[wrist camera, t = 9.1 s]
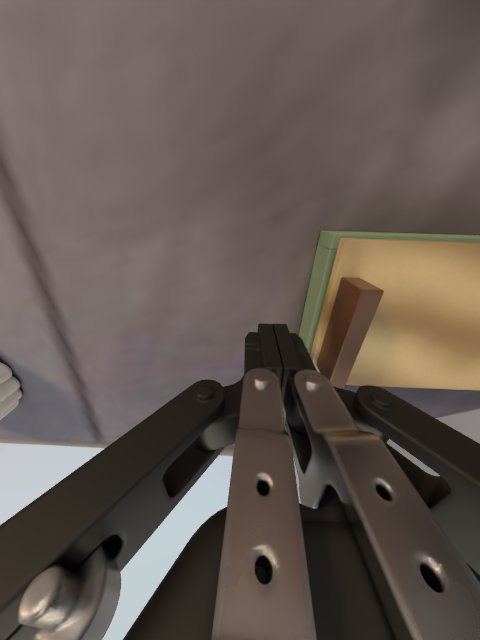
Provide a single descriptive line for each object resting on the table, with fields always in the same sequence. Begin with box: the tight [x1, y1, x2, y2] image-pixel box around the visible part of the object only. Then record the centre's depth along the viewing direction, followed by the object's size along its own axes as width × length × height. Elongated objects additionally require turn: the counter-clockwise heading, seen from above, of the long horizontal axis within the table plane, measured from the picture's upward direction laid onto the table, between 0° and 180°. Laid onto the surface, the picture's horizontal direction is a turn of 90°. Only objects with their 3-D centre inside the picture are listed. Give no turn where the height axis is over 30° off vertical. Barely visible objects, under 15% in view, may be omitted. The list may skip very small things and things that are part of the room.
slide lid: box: [310, 238, 480, 390], centre depth 10 cm, size 10×17×3 cm, turn 89°
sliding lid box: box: [299, 231, 480, 355], centre depth 13 cm, size 10×17×2 cm, turn 89°
